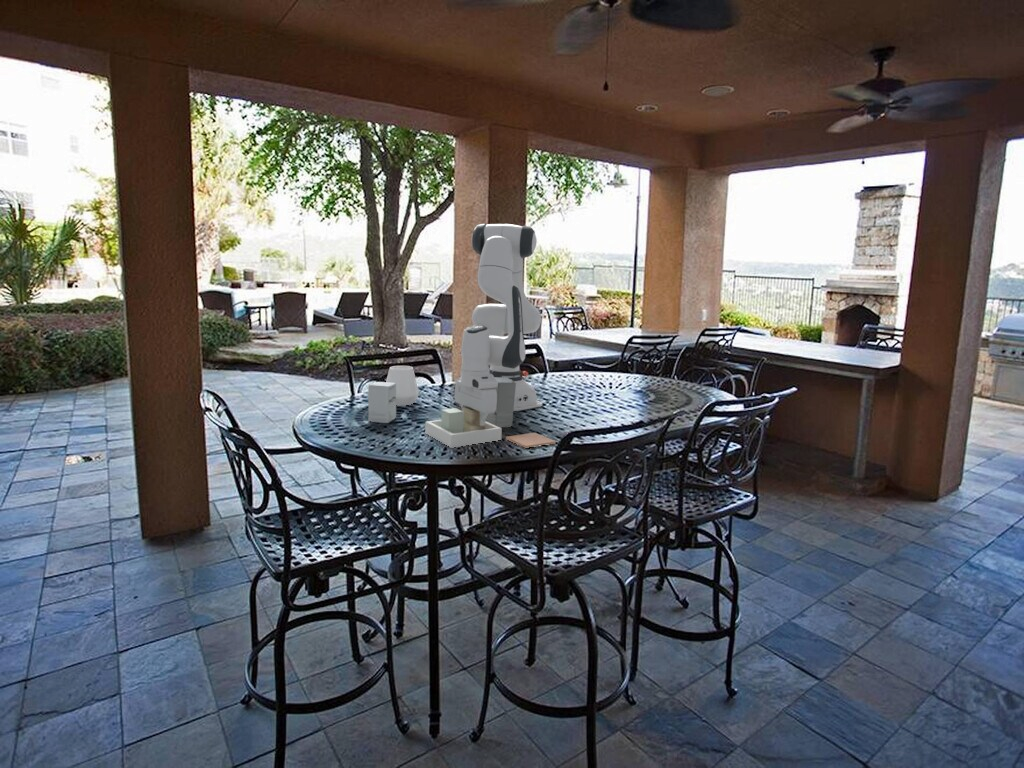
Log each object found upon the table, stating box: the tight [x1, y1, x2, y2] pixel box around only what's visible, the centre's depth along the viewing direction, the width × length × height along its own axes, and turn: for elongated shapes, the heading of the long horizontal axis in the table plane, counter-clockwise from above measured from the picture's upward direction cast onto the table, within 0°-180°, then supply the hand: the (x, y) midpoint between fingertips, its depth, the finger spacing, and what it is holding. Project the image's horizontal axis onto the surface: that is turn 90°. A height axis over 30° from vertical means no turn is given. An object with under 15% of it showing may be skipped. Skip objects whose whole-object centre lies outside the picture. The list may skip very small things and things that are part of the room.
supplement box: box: [367, 381, 397, 424], centre depth 211 cm, size 7×7×13 cm
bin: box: [424, 419, 503, 449], centre depth 194 cm, size 17×17×4 cm
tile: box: [505, 432, 556, 449], centre depth 192 cm, size 11×11×1 cm
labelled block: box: [463, 406, 484, 432], centre depth 196 cm, size 5×5×9 cm
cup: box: [385, 365, 420, 407], centre depth 237 cm, size 13×13×14 cm
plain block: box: [440, 407, 464, 434], centre depth 192 cm, size 5×5×9 cm
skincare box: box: [486, 377, 516, 428], centre depth 210 cm, size 8×7×16 cm
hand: (473, 421), depth 195 cm, fingers open, 8 cm apart
